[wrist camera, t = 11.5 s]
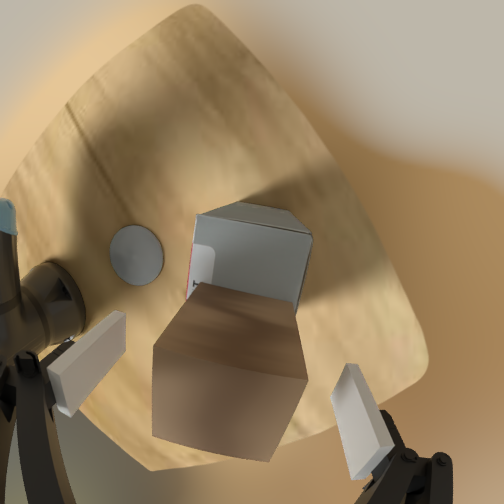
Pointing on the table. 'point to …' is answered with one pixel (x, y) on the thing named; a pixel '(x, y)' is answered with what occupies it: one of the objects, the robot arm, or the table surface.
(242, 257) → the hard drive box
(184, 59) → the table surface
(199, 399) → the walnut block
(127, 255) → the slate coaster
